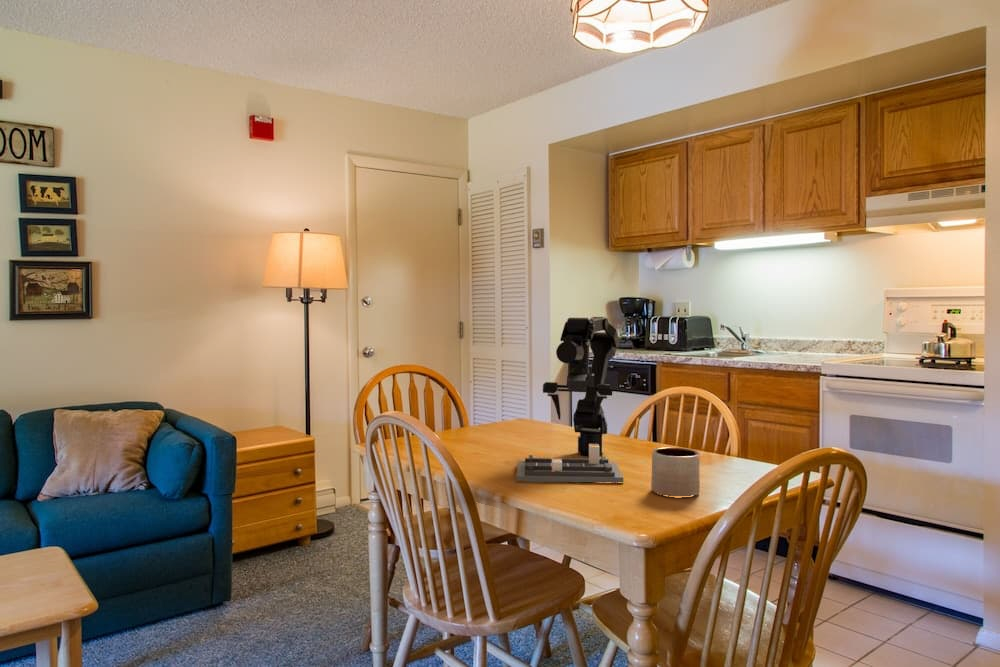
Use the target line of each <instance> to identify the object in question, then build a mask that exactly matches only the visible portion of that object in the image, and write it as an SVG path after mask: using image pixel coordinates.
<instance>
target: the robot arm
mask: <svg viewBox="0 0 1000 667" xmlns="http://www.w3.org/2000/svg"><path fill="white" fill-rule="evenodd" d="M600 331H601V332H600ZM603 331H604V332H603ZM559 340H560V342H561V343H560V344H559V345H558V346H557V347H556V351H555V353H556V354H555V355H556V357H557V359H558V361H560V362H561V363H563V364H567V376H566V384H559V382H558V381H555V382H554V381H545V382H544V383H543V384H542V393H544V394H545V393H546V394H547V397H551V400H552V401H553V404H554V406H555V409H556V410H555V411H556V414H557V418H558V420H559V421H560V420H561V414H562V413H561V402H560V393H559V392H566V393H567V392H568V393H569V392H572V393H573V392H575V393H585V396H584V398H583V399H578V401H577V404H576V409H575V411H574V413H573V415H572V416H573V418H572V419H573V421H572V422H573V428H574V429H573V430H574V433H579V435H578V436H577V452H578V453H579V456H589V444H598V445H599V447H600V448H599V456H604V454H603V453H604V452H603V435H607V434H608V423H607V420H606V417H605V412H604V408H603V407H602V405H601V404H602V402H603V400H606V399H608V396H613V385H611V384H608V383H607V384H606V383H605V380H606V376H607V370H608V365H609V362H610V360H611V359H613V357H614V356H615V355H616V353H617V349H618V348H619V345H620V337H619V334H618V331H617V329H616V327H614V326H613V325H612V324H611V323H610V321H609V319H608V317H605V316H593V317H568V318H567V319H566V321H565V323H564V326H563V330H562V333H561V336H560V339H559ZM590 350H591V352H592V355H593V358H592V360H591V361H592V362H591V367H590V365H589V364H590ZM589 368H590V372H589Z"/></svg>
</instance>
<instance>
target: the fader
mask: <svg viewBox="0 0 1000 667" xmlns="http://www.w3.org/2000/svg"><path fill="white" fill-rule="evenodd" d="M599 448H600V447H599V445H598V444H589V455H588V459H589V464H599V459H600V455H599Z"/></svg>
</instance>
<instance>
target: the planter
mask: <svg viewBox="0 0 1000 667" xmlns="http://www.w3.org/2000/svg"><path fill="white" fill-rule="evenodd" d="M700 458H701V454H700V452H699V451H697V450H694V449H692V448H686V447H680V446H679V447H678V446H667V447H666V446H665V447H656V448H654V449H652V451H651V477H650V478H651V481H650V482H651V484H650V485H651V488H650V489H651V491H652V492H653V491H654V492H653V493H655V494H656V493H658V494H661V495H668V496H691V495H696V494H697V495H699V494H700V489H701V488H700V487H701V485H700V484H701V483H700V479H701V477H700V476H701V475H700V472H701V470H700V469H701V468H700V466H701V465H700V464H701V463H700V462H701V461H700V460H701V459H700ZM698 493H699V494H698ZM658 494H657V495H658ZM697 495H696V496H697Z"/></svg>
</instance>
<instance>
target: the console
mask: <svg viewBox="0 0 1000 667" xmlns="http://www.w3.org/2000/svg"><path fill="white" fill-rule="evenodd" d="M516 467H517V468H516V482H517V481H527V482H526V483H543V482H612V483H613V482H615V483H616V482H617V483H618V482H623V483H624V476H623V474H622V472H621V471H620V468H619V466H618V465H617V463H616V462H615V461H613V462H612V461H609V459H608V458H606V456H605V455H600V458H599V464H589V458H561V457H559V458H556V457H555V458H554V457H547V458H545V457H544V458H543V457H542V458H541V457H536V458H535V457H534V455H533V454H532V455H531V454H529V455H528V457H525V458H524V460H517V466H516ZM612 483H611V484H612Z"/></svg>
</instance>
